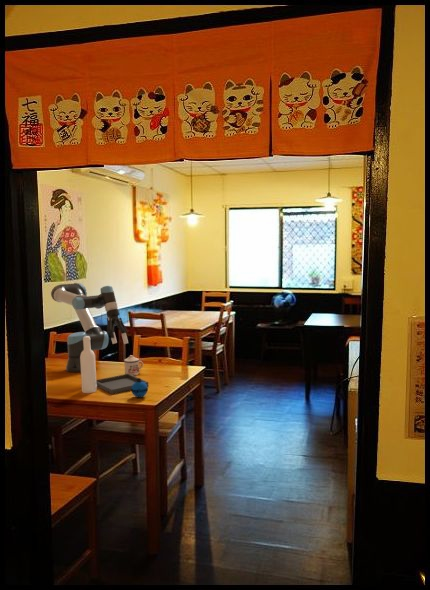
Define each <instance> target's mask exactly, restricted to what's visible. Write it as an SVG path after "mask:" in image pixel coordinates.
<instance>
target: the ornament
mask: <svg viewBox="0 0 430 590" xmlns="http://www.w3.org/2000/svg"><path fill="white" fill-rule="evenodd" d="M137 378H138V379H137V380H138V381H137V382H135V383H134V384H133V385H132V387H131V390H130V391H131V394H132V395H133V396H135V397H136V398H143V397H145V396H146V395H147V393H148V390H149V386H148V387H147V385H146V383H144V382H143V381H141V378H140V377H137Z"/></svg>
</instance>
